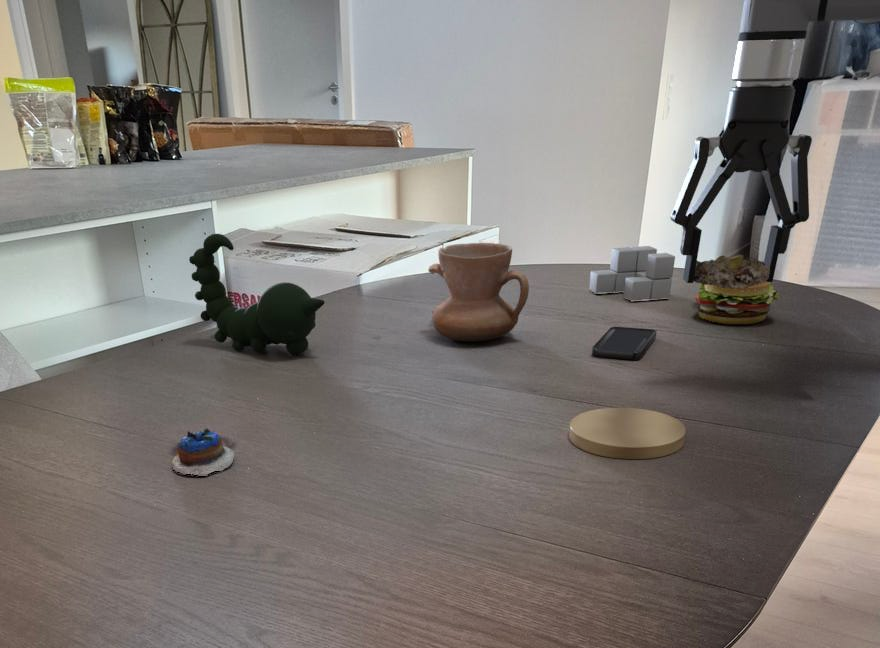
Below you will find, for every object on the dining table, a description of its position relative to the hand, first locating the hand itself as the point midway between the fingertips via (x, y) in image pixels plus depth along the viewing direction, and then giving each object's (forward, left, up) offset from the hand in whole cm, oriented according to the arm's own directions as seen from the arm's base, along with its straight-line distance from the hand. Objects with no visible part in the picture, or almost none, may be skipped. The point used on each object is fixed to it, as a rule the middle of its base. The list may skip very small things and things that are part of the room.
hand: (727, 280), depth 115 cm
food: (-15, -37, -14) cm, 42 cm away
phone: (+8, -20, -14) cm, 26 cm away
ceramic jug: (+32, -28, -14) cm, 45 cm away
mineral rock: (0, 0, 0) cm, 0 cm away
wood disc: (+16, +21, -14) cm, 30 cm away
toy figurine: (+68, -23, -14) cm, 73 cm away
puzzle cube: (0, -57, -14) cm, 58 cm away
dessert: (+68, +27, -14) cm, 75 cm away
